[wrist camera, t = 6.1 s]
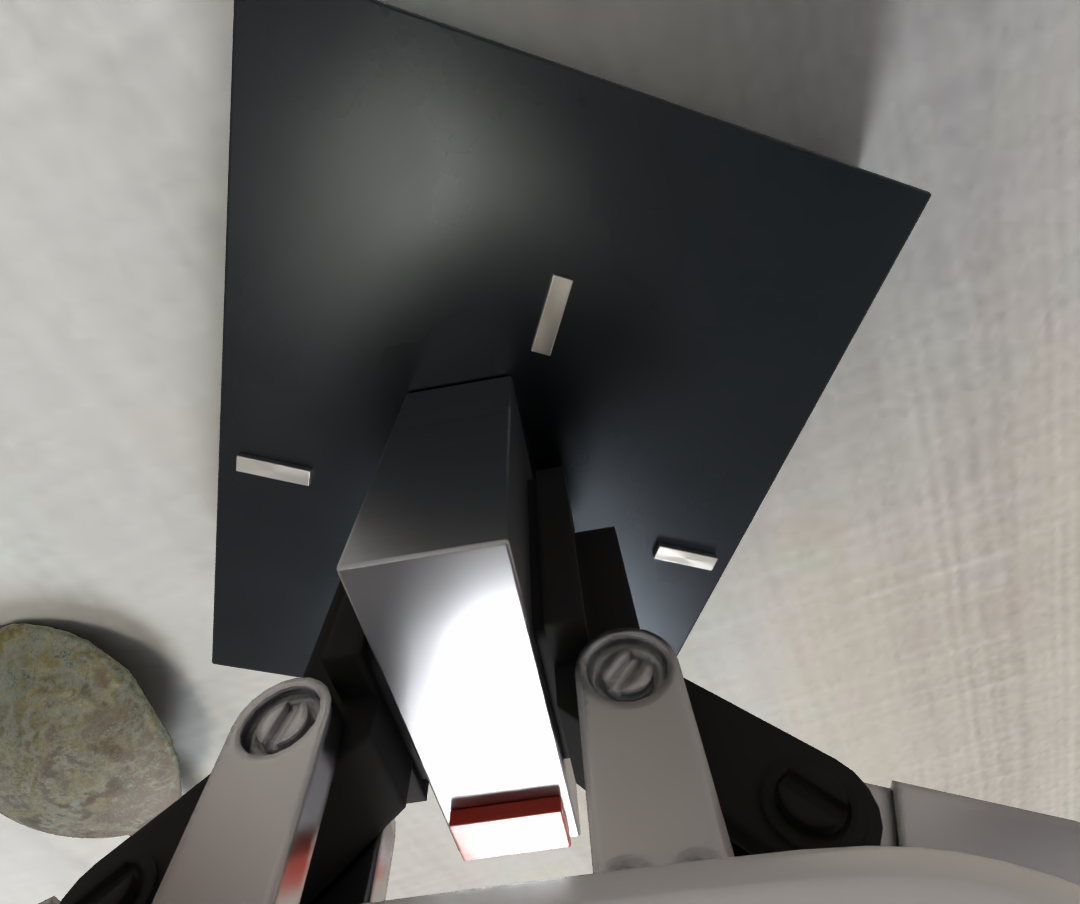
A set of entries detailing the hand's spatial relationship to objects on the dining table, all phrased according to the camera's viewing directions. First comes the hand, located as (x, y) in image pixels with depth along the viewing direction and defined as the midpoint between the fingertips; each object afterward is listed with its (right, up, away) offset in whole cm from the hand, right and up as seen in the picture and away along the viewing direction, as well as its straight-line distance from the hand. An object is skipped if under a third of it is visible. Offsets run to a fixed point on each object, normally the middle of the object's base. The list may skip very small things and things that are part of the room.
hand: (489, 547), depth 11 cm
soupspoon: (-11, -12, +11) cm, 19 cm away
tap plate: (0, +3, +3) cm, 4 cm away
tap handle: (0, +1, +1) cm, 1 cm away
